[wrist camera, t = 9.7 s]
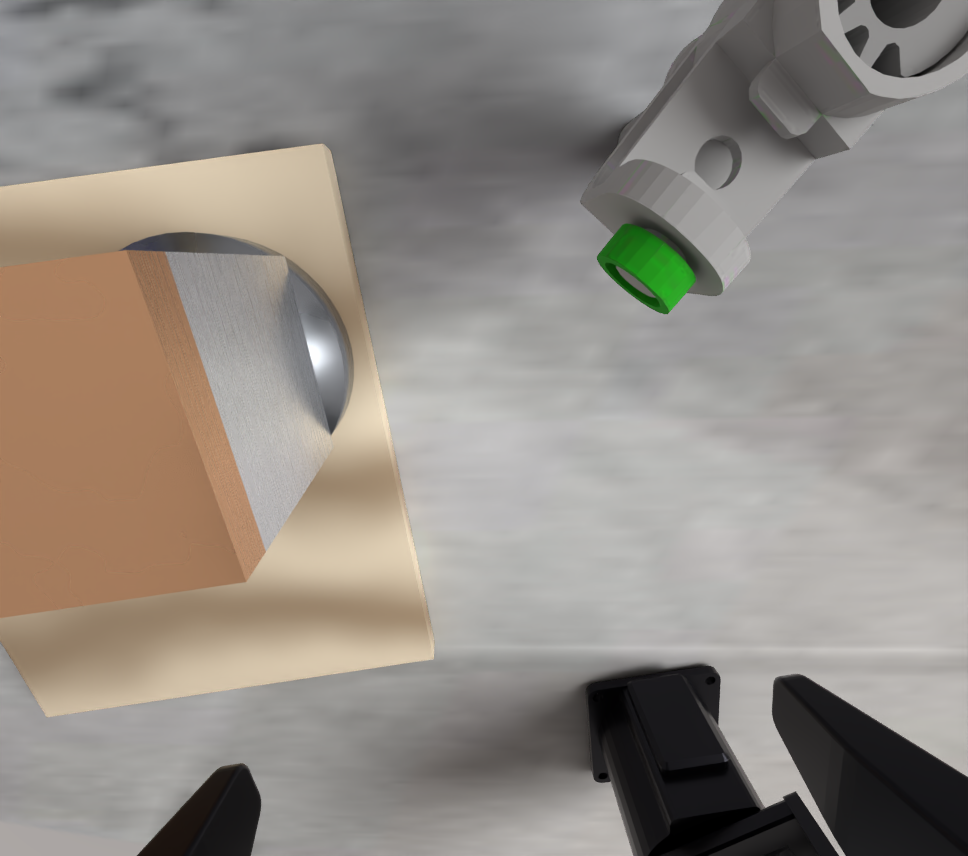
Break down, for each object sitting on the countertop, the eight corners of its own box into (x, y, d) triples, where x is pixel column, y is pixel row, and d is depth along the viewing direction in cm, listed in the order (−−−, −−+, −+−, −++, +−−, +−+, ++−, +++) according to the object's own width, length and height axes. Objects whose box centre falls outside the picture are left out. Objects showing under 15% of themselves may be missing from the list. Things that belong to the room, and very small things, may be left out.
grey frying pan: (375, 453, 17) (346, 523, 13) (-61, 515, 17) (-256, 611, 12) (322, 218, 15) (260, 197, 10) (-196, 289, 14) (-510, 301, 10)
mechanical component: (508, 245, 16) (585, 222, 7) (725, -46, 14) (1297, -690, 4) (571, 300, 17) (720, 347, 8) (788, 32, 15) (1390, -382, 5)
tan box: (333, 447, 16) (246, 581, 9) (152, 472, 16) (-69, 628, 9) (284, 255, 14) (125, 249, 7) (76, 284, 14) (-283, 305, 7)
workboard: (434, 641, 22) (433, 658, 21) (64, 697, 21) (46, 717, 20) (330, 151, 15) (322, 143, 14) (-210, 223, 15) (-255, 221, 14)
